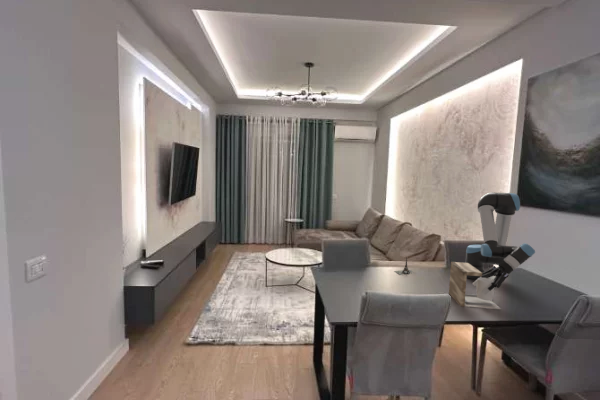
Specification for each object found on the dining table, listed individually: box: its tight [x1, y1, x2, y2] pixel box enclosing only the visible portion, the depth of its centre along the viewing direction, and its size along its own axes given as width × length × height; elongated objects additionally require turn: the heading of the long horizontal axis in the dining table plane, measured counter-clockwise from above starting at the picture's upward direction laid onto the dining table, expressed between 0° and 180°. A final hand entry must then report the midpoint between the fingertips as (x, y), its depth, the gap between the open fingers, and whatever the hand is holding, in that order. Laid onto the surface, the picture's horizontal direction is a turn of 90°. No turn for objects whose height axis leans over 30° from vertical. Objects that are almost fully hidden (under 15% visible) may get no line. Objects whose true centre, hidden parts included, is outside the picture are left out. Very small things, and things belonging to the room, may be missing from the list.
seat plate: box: [464, 293, 501, 310], centre depth 188 cm, size 18×20×2 cm
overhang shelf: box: [448, 261, 482, 308], centre depth 188 cm, size 10×20×20 cm, turn 173°
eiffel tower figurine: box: [393, 256, 413, 276], centre depth 240 cm, size 15×10×13 cm
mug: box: [475, 278, 495, 301], centre depth 187 cm, size 9×12×11 cm
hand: (478, 289), depth 187 cm, fingers closed on mug, 12 cm apart
